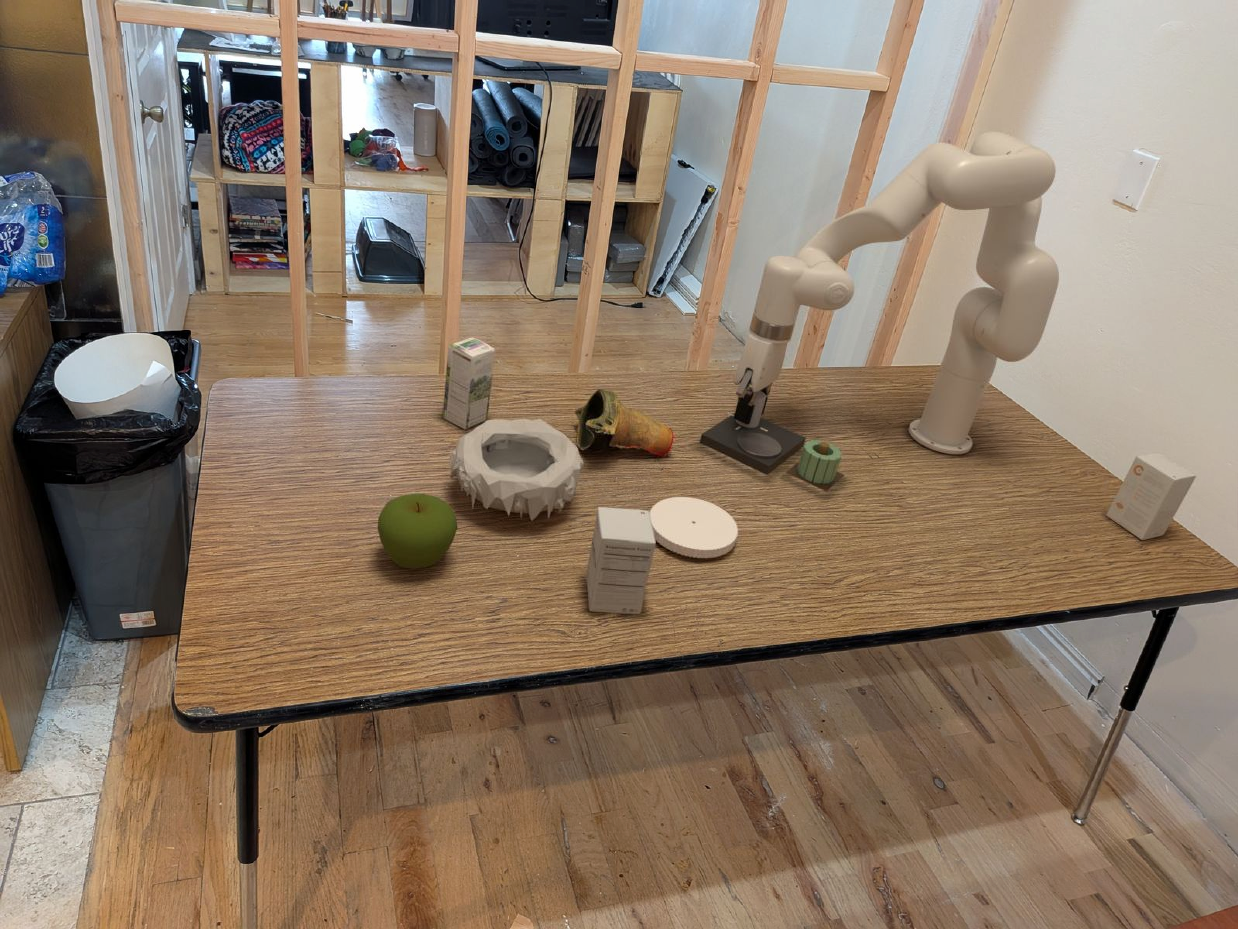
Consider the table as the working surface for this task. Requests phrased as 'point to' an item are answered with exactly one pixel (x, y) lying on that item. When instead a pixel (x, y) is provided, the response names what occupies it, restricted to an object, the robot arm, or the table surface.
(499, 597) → the table surface
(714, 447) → the hob
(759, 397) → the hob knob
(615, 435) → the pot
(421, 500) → the apple
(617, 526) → the white packaging box
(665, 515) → the plastic lid
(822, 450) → the peg stand
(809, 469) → the ring
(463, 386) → the syrup box
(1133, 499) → the small box
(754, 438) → the burner
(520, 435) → the bowl
